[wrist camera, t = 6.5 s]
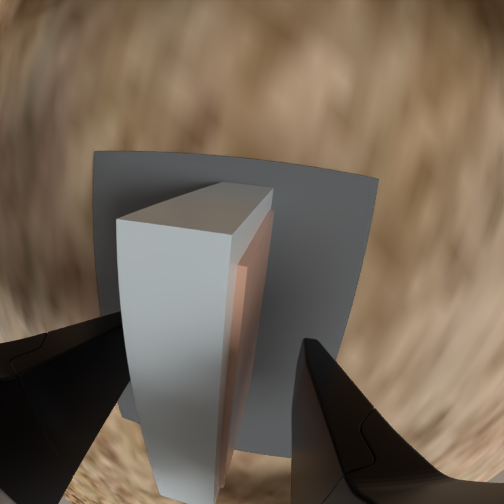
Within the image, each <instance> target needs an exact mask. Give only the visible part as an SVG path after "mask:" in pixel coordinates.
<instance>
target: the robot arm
mask: <svg viewBox="0 0 504 504" xmlns="http://www.w3.org/2000/svg"><path fill="white" fill-rule="evenodd" d="M130 380H131V378H130V373H129V367H128V360H127V354H126V347H125V340H124V332H123V324H122V315H121V311H119V312H115V313H112V314H108V315H105V316H102V317H98V318H95V319H92V320H88V321H85V322H81V323H78V324H74V325H71V326H67V327H64V328H60V329H57V330H53V331H50V332H48V333H43V334H39V335H36V336H32V337H28V338H24V339H20V340H15V341H10V342H5V343H0V504H58V503H59V501H60V500H61V498H62V496H63V494H64V492H65V491H66V489H67V487H68V485H69V483H70V482H71V480H72V478H73V476H74V474H75V472H76V471H77V469H78V467H79V465H80V464H81V462H82V460H83V458H84V457H85V455H86V453H87V452H88V450H89V448H90V446H91V445H92V443H93V441H94V440H95V438H96V436H97V434H98V433H99V431H100V429H101V428H102V426H103V424H104V423H105V421H106V419H107V418H108V416H109V414H110V413H111V411H112V409H113V408H114V406H115V405H116V403H117V401H118V400H119V398H120V396H121V395H122V393H123V391H124V390H125V388H126V387H127V385H128V383H129V382H130ZM373 408H374V406H373V405H372V404H371V403H370V402H369V400H368V399H367V398H366V397H365V396H364V394H363V393H362V392H361V391H360V390H359V388H358V387H357V386H356V385H355V384H354V382H353V381H352V380H351V379H350V378H349V376H348V375H347V374H346V373H345V372H344V371H343V369H342V368H341V367H340V366H339V365H338V363H337V362H336V361H335V360H334V359H333V357H332V356H331V355H330V354H329V353H328V351H327V350H326V349H325V348H324V347H323V345H322V344H321V343H320V342H319V341H318V340H317V339H312V338H304V339H303V341H302V344H301V349H300V353H299V357H298V361H297V367H296V375H295V384H294V392H293V400H292V412H291V430H292V461H291V504H504V483H489V482H476V481H466V480H458V479H454V478H451V477H448V476H446V475H444V474H443V473H441V472H440V471H438V470H437V469H436V468H435V467H434V466H432V465H431V464H430V463H429V462H428V461H427V460H426V459H425V458H424V457H423V456H421V455H420V454H419V453H418V452H417V451H416V450H415V449H414V448H413V447H412V446H411V445H409V444H408V443H407V442H406V441H405V440H404V439H403V438H402V437H401V436H400V435H399V434H398V433H397V432H396V431H395V430H394V429H393V428H392V427H391V426H390V425H389V423H388V422H387V421H386V420H385V419H384V418H383V417H382V416H381V414H380V413H379V412H378V411H377V410H376V409H375V408H374V409H373Z"/></svg>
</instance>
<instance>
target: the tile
mask: <svg viewBox="0 0 504 504" xmlns="http://www.w3.org/2000/svg"><path fill="white" fill-rule="evenodd" d="M272 197H273V188H271V187H263V186H256V185H247V184H239V183H230V182H221V183H218V184H215V185H211V186H208V187H205V188H202V189H199V190H196V191H193V192H190V193H187V194H184V195H181V196H178V197H175V198H172V199H169V200H166V201H164V202H161V203H158V204H155V205H152V206H150V207H147V208H144V209H141V210H139V211H136V212H133V213H131V214H128V215H125V216H123V217H120V218H118V219H116V236H117V263H118V280H119V293H120V305H121V315H122V324H123V332H124V340H125V347H126V354H127V360H128V367H129V373H130V378H131V384H132V389H133V394H134V399H135V404H136V409H137V413H138V418H139V422H140V426H141V430H142V434H143V438H144V442H145V446H146V450H147V453H148V457H149V460H150V464H151V467H152V471H153V474H154V477H155V480H156V483H157V486H158V489H159V492H160V495H161V496H165V497H168V498H171V499H174V500H177V501H181V502H184V503H188V504H215V502H216V499H217V495H218V492H219V488H224V484H225V481H226V477H227V473H228V470H229V466H230V462H231V458H232V455H233V451H234V447H235V443H236V439H237V435H238V431H239V428H240V424H241V420H242V416H243V412H244V408H245V404H246V400H247V396H248V391H249V387H250V382H251V375H252V369H253V362H254V355H255V349H256V342H257V335H258V328H259V321H260V314H261V307H262V300H263V293H264V286H265V278H266V271H267V264H268V256H269V249H270V241H271V234H272V226H273V218H274V210H271V205H272Z"/></svg>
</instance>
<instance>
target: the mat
mask: <svg viewBox="0 0 504 504" xmlns="http://www.w3.org/2000/svg"><path fill="white" fill-rule="evenodd" d="M378 181H379V179H377V178H372V177H367V176H362V175H357V174H351V173H346V172H340V171H335V170H329V169H323V168H317V167H310V166H304V165H297V164H290V163H282V162H274V161H266V160H258V159H249V158H239V157H229V156H217V155H204V154H190V153H171V152H144V151H94V171H93V232H94V252H95V266H96V278H97V288H98V297H99V305H100V312H101V317H102V316H105V315H108V314H112V313H115V312H119V311H121V305H120V293H119V280H118V263H117V236H116V219H118V218H120V217H123V216H125V215H128V214H131V213H133V212H136V211H139V210H141V209H144V208H147V207H150V206H152V205H155V204H158V203H161V202H164V201H166V200H169V199H172V198H175V197H178V196H181V195H184V194H187V193H190V192H193V191H196V190H199V189H202V188H205V187H208V186H211V185H215V184H218V183H221V182H230V183H239V184H247V185H256V186H263V187H271V188H273V197H272V205H271V210H274V218H273V226H272V234H271V241H270V249H269V256H268V264H267V271H266V278H265V286H264V293H263V300H262V307H261V314H260V321H259V328H258V335H257V342H256V349H255V355H254V362H253V369H252V375H251V382H250V387H249V391H248V396H247V400H246V404H245V408H244V412H243V416H242V420H241V424H240V428H239V431H238V435H237V439H236V443H235V447H234V449H235V450H240V451H245V452H251V453H257V454H264V455H270V456H278V457H286V458H292V430H291V412H292V400H293V392H294V384H295V375H296V367H297V361H298V357H299V353H300V349H301V344H302V341H303V339H304V338H312V339H317V340H318V341H319V342H320V343H321V344H322V345H323V347H324V348H325V349H326V350H327V351H328V353H329V354H330V355H331V356H332V357H333V359H334V360H336V357H337V354H338V351H339V348H340V344H341V341H342V338H343V335H344V331H345V328H346V325H347V321H348V318H349V314H350V311H351V307H352V303H353V300H354V296H355V292H356V288H357V284H358V280H359V276H360V272H361V268H362V264H363V259H364V255H365V250H366V246H367V241H368V236H369V231H370V226H371V221H372V216H373V211H374V205H375V199H376V193H377V187H378ZM118 404H119V407H120V411H121V415H122V417H123V418H126V419H128V420H131V421H134V422H137V423H139V424H140V422H139V418H138V413H137V409H136V404H135V399H134V394H133V389H132V384H131V380H130V382H129V383H128V385H127V387H126V388H125V390H124V391H123V393H122V395H121V396H120V398H119V400H118Z"/></svg>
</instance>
